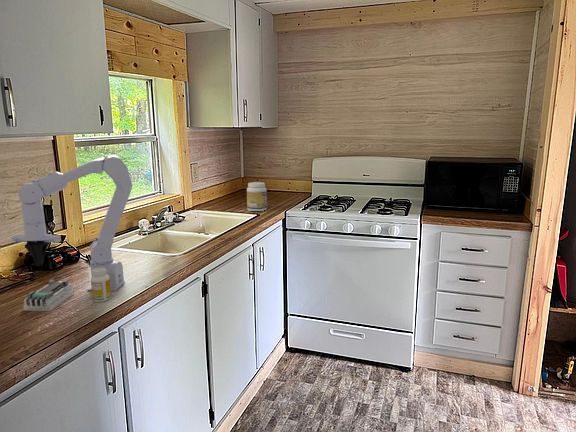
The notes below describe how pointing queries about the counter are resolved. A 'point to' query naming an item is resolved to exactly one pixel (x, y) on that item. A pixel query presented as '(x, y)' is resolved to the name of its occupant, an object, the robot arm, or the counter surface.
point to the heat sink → (48, 298)
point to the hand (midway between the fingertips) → (39, 264)
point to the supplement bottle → (100, 285)
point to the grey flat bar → (47, 290)
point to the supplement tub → (256, 196)
